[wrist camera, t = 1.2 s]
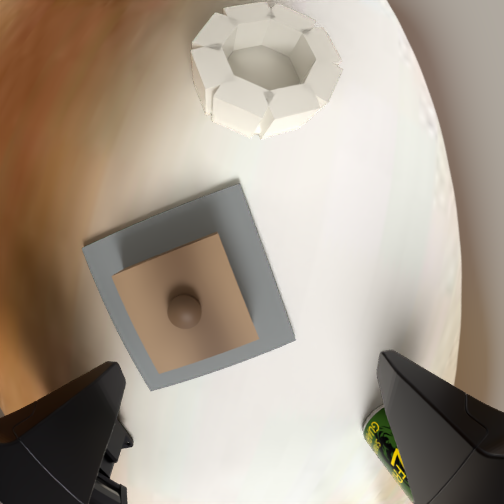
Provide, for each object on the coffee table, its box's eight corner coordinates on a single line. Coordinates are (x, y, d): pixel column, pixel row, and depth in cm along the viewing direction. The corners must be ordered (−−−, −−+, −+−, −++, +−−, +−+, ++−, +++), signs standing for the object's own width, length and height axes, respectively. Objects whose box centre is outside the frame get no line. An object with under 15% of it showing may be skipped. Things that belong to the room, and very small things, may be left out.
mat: (151, 388, 20) (150, 391, 20) (83, 247, 18) (81, 248, 18) (294, 338, 21) (295, 340, 21) (239, 183, 19) (239, 183, 19)
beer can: (405, 391, 24) (478, 454, 12) (401, 425, 25) (461, 487, 13) (360, 412, 23) (425, 492, 12) (360, 445, 24) (412, 519, 12)
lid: (164, 356, 20) (157, 378, 16) (123, 268, 19) (108, 278, 15) (253, 324, 20) (260, 342, 17) (217, 231, 19) (218, 234, 16)
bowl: (219, 152, 19) (222, 134, 15) (182, 52, 18) (178, 18, 13) (333, 120, 20) (361, 100, 15) (289, 29, 18) (305, -2, 14)
